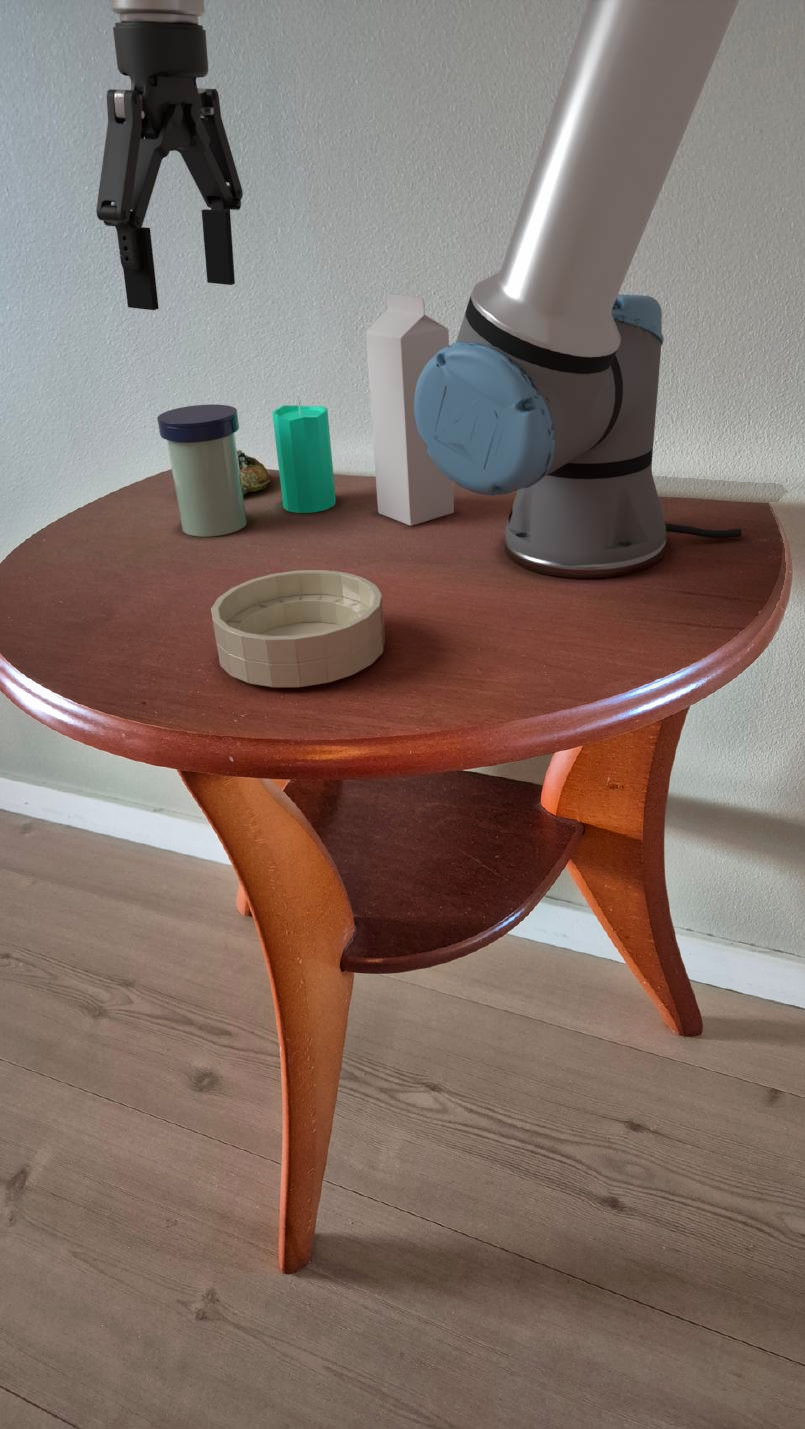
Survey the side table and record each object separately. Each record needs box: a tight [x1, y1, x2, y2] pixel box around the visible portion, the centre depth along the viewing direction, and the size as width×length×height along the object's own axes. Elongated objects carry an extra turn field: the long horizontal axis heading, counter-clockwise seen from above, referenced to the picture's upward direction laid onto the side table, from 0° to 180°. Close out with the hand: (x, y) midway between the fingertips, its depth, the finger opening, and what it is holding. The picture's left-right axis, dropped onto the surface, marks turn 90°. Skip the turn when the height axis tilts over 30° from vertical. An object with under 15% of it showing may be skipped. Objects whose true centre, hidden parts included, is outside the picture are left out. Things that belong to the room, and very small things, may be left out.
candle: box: [271, 395, 337, 514], centre depth 109 cm, size 6×6×12 cm
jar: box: [166, 432, 248, 538], centre depth 105 cm, size 7×7×12 cm
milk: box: [365, 293, 455, 527], centre depth 102 cm, size 6×6×22 cm
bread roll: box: [237, 449, 271, 496], centre depth 118 cm, size 11×11×5 cm
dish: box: [210, 569, 386, 688], centre depth 78 cm, size 13×13×4 cm
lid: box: [157, 403, 240, 442], centre depth 102 cm, size 8×8×2 cm
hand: (184, 295), depth 93 cm, fingers open, 13 cm apart
